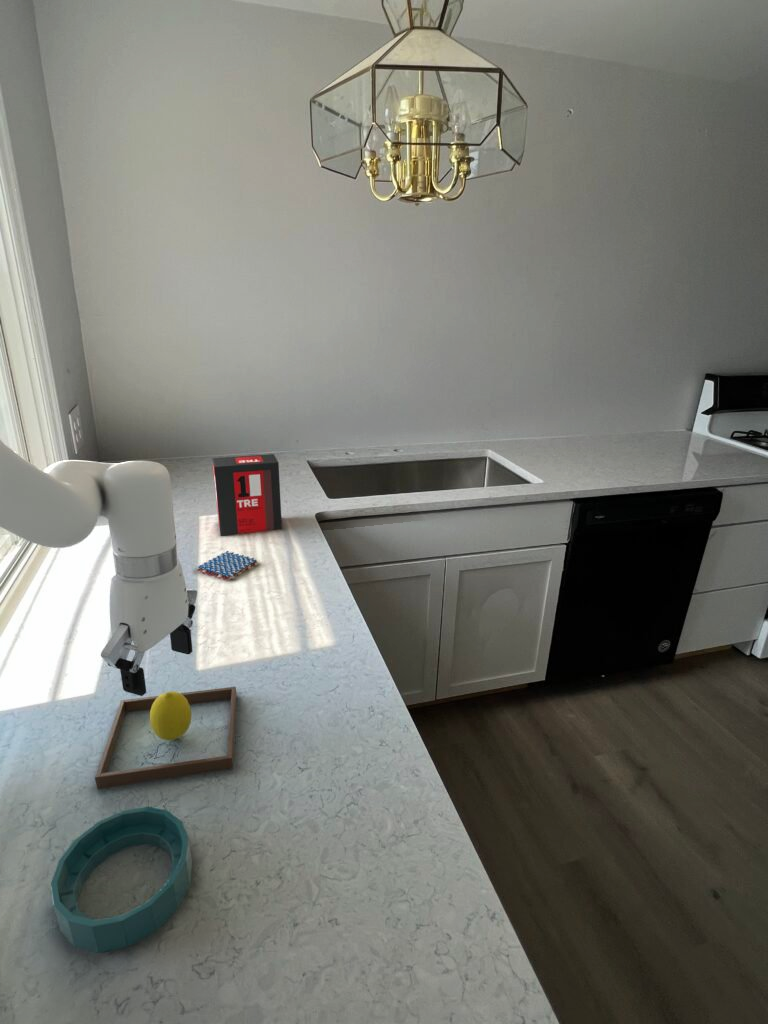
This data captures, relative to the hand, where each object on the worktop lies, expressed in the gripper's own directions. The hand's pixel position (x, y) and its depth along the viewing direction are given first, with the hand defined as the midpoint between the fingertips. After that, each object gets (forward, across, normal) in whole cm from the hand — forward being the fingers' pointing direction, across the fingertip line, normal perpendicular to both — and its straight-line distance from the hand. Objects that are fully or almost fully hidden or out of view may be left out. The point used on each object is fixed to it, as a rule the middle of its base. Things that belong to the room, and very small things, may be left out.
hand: (159, 670), depth 77 cm
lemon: (+12, 0, +1) cm, 12 cm away
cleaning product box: (+12, -75, -31) cm, 82 cm away
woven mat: (+12, -51, -22) cm, 57 cm away
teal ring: (+12, +20, +10) cm, 25 cm away
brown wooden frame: (+12, 0, +1) cm, 12 cm away
